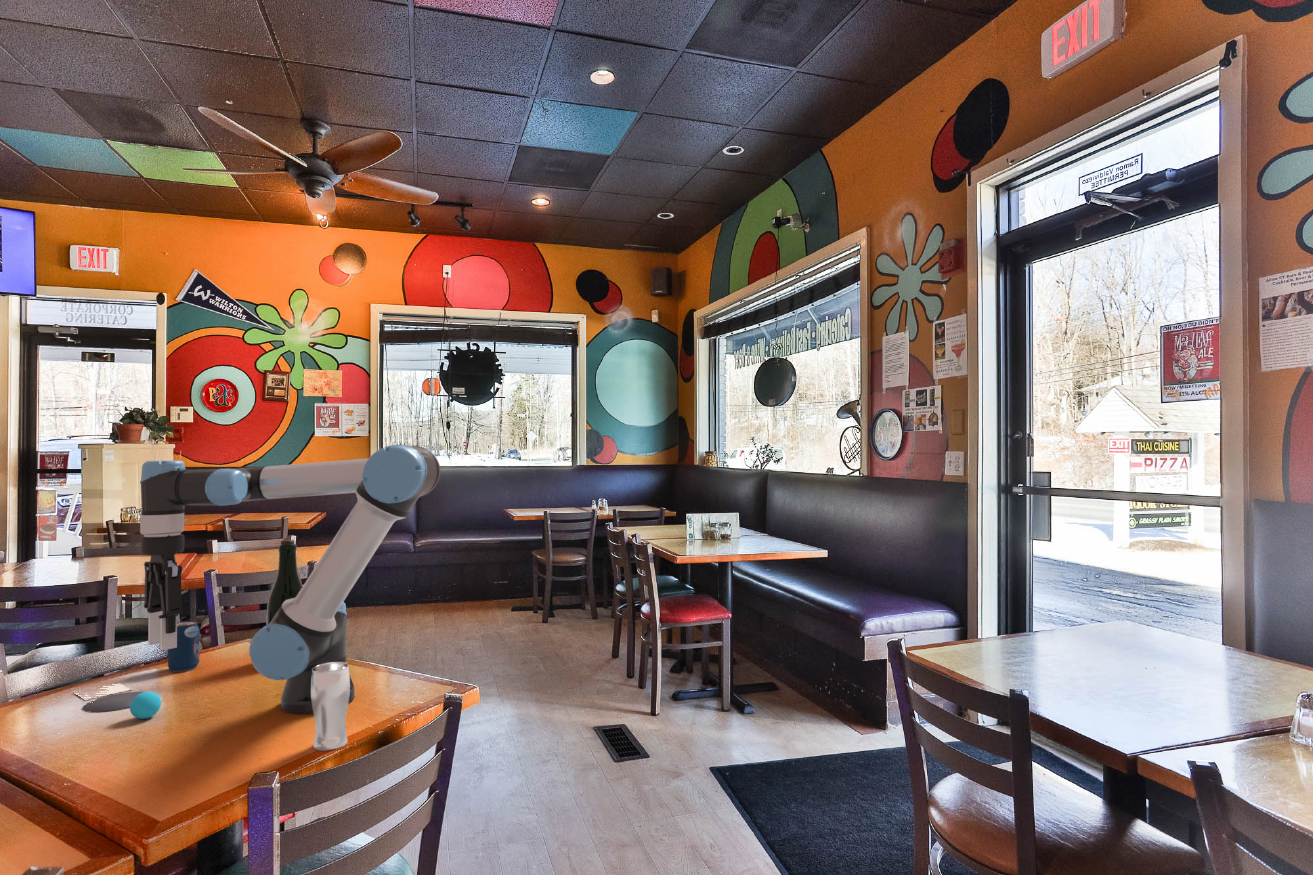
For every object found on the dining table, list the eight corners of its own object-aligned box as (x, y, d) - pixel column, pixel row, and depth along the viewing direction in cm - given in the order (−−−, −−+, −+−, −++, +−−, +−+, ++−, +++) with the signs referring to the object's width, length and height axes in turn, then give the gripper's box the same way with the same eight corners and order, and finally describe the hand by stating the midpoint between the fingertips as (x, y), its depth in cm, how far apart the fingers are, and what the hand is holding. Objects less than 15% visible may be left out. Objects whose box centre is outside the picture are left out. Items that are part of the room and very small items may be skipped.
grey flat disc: (162, 699, 165) (162, 698, 165) (93, 716, 155) (93, 715, 155) (142, 688, 173) (142, 688, 173) (75, 704, 163) (75, 703, 163)
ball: (165, 716, 154) (165, 691, 154) (135, 724, 150) (135, 698, 150) (155, 711, 158) (155, 686, 158) (126, 719, 153) (126, 693, 153)
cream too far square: (131, 690, 172) (131, 689, 172) (84, 700, 165) (84, 699, 165) (118, 683, 178) (118, 682, 178) (73, 693, 171) (73, 692, 171)
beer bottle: (288, 667, 190) (288, 542, 191) (256, 664, 193) (256, 541, 194) (317, 656, 200) (317, 538, 201) (287, 653, 203) (287, 537, 204)
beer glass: (324, 754, 134) (324, 674, 134) (303, 747, 138) (303, 668, 138) (357, 741, 140) (357, 664, 140) (336, 734, 143) (335, 659, 144)
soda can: (202, 668, 190) (202, 622, 190) (171, 674, 185) (172, 627, 185) (195, 663, 194) (195, 618, 195) (164, 669, 189) (165, 623, 190)
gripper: (201, 535, 146) (201, 649, 146) (166, 530, 158) (166, 635, 157) (158, 539, 140) (158, 657, 140) (125, 533, 152) (125, 642, 151)
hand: (162, 645), depth 148 cm, fingers open, 6 cm apart
